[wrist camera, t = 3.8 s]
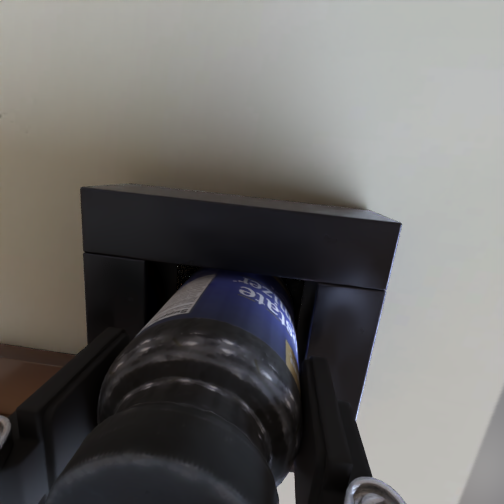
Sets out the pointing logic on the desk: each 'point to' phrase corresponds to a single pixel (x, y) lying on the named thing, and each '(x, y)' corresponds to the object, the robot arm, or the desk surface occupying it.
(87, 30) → the desk surface
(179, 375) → the pill bottle
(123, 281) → the holder
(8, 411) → the stand
